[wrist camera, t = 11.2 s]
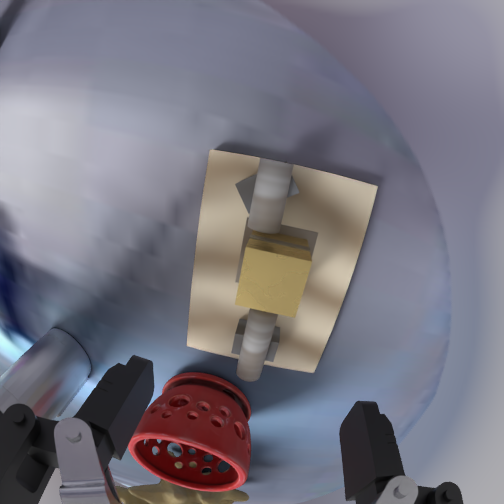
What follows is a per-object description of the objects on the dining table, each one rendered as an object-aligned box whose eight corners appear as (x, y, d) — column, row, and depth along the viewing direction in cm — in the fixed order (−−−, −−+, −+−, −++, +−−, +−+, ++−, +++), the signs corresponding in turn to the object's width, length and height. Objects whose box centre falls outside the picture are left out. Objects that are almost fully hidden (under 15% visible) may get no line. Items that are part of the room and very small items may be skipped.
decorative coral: (141, 515, 38) (102, 555, 17) (130, 439, 49) (79, 450, 28) (250, 519, 41) (260, 568, 20) (240, 441, 52) (246, 462, 31)
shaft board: (313, 365, 29) (315, 397, 24) (189, 339, 30) (175, 367, 25) (373, 183, 22) (393, 190, 17) (214, 148, 23) (196, 146, 18)
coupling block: (308, 239, 23) (313, 261, 18) (294, 288, 25) (295, 318, 20) (253, 227, 23) (244, 246, 19) (243, 276, 25) (233, 305, 20)
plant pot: (267, 423, 34) (258, 496, 22) (181, 421, 36) (157, 484, 25) (247, 356, 30) (227, 446, 18) (146, 359, 32) (103, 427, 21)
